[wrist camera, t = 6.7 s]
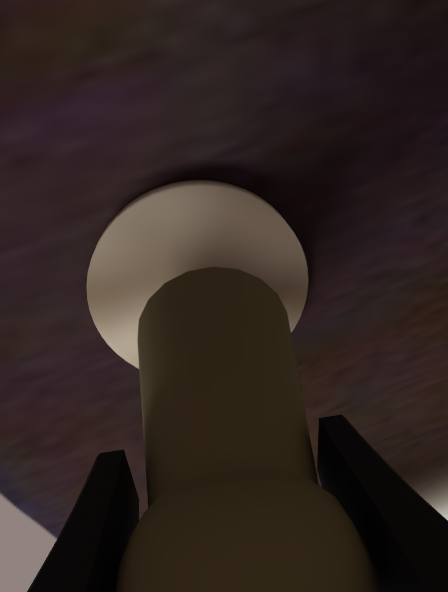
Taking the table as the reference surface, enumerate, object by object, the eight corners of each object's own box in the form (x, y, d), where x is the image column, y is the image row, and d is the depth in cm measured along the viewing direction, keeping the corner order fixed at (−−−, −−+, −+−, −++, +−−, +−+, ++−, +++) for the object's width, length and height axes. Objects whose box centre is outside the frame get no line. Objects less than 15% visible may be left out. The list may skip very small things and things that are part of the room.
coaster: (301, 354, 22) (307, 365, 22) (116, 381, 22) (114, 395, 21) (302, 166, 18) (309, 171, 17) (63, 195, 17) (58, 202, 16)
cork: (295, 263, 15) (489, 592, 6) (283, 389, 18) (399, 750, 9) (128, 269, 15) (30, 640, 5) (144, 398, 18) (99, 790, 8)
